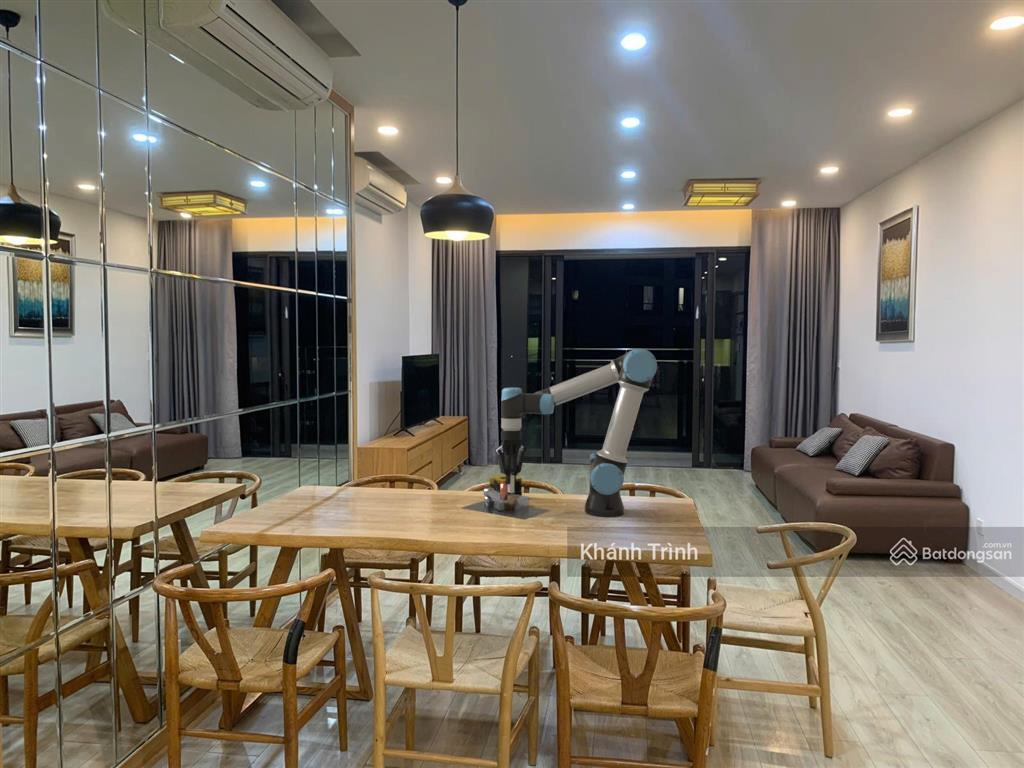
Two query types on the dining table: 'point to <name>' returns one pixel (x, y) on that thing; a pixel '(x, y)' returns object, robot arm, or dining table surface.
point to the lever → (498, 495)
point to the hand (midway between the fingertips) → (510, 492)
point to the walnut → (511, 502)
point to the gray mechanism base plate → (519, 512)
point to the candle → (497, 480)
